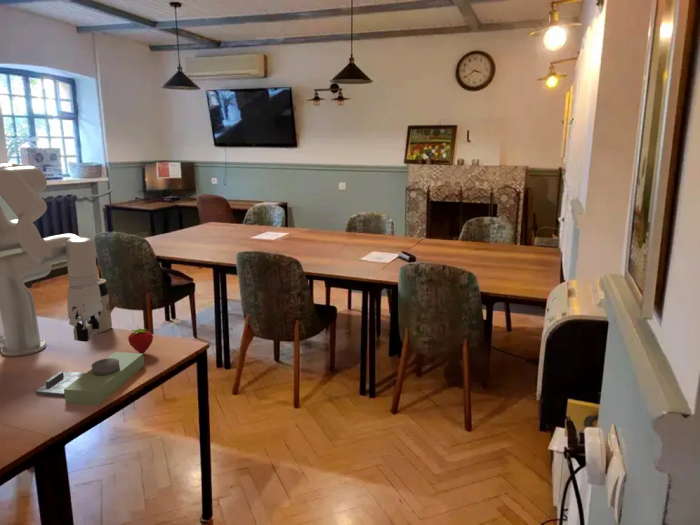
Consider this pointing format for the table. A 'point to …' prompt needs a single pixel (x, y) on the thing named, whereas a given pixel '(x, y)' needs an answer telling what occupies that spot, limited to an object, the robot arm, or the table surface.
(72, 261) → the robot arm
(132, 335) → the strawberry
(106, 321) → the travel mug
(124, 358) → the green slab with knob
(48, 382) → the grey plate with ledge
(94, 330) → the usb wall charger
